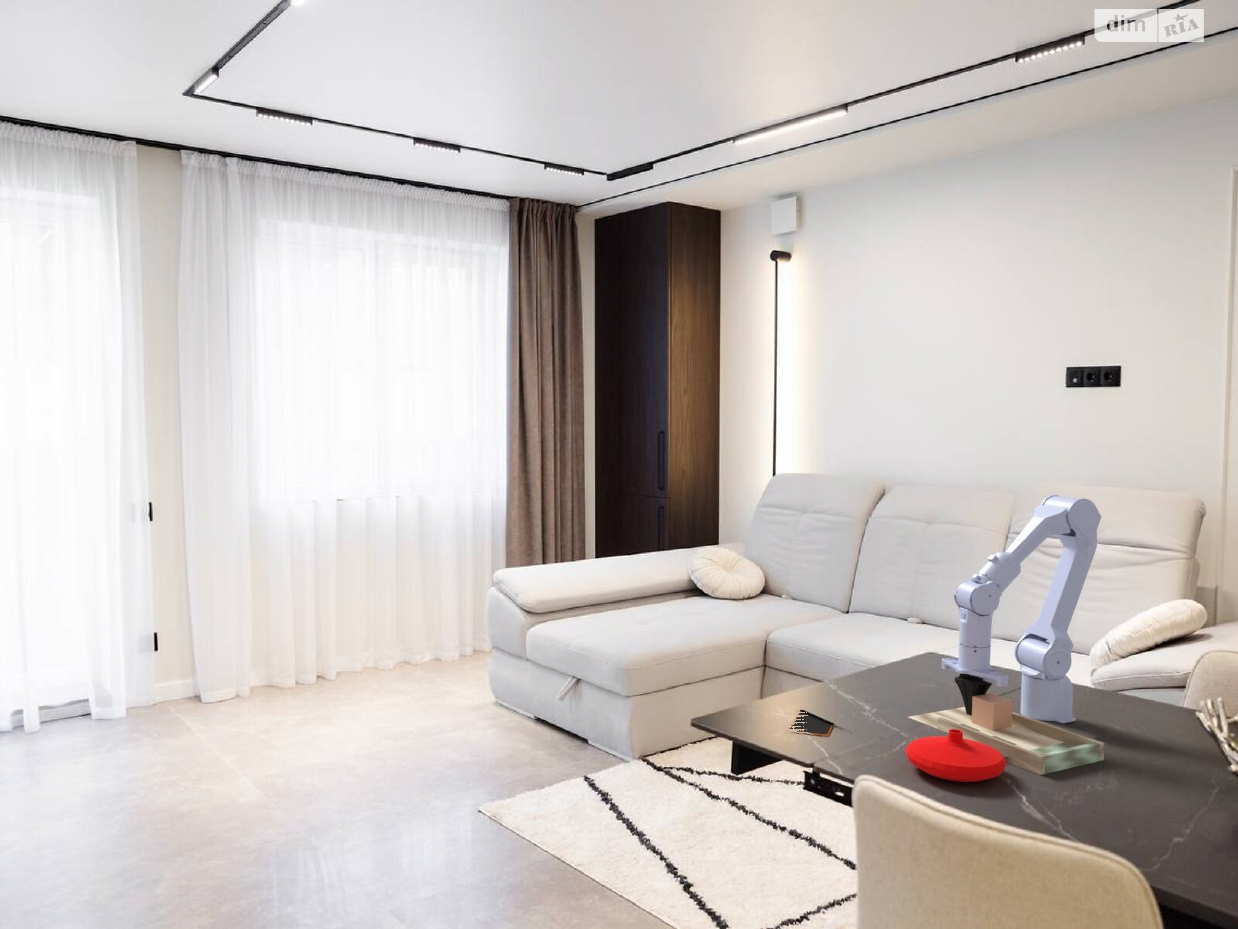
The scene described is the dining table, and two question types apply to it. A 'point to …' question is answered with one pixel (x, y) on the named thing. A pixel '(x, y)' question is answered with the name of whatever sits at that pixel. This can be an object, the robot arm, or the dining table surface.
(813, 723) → the smartphone
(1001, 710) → the peach block
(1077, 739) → the tray
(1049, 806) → the dining table surface
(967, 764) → the red disc with nozzle
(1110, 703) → the dining table surface
